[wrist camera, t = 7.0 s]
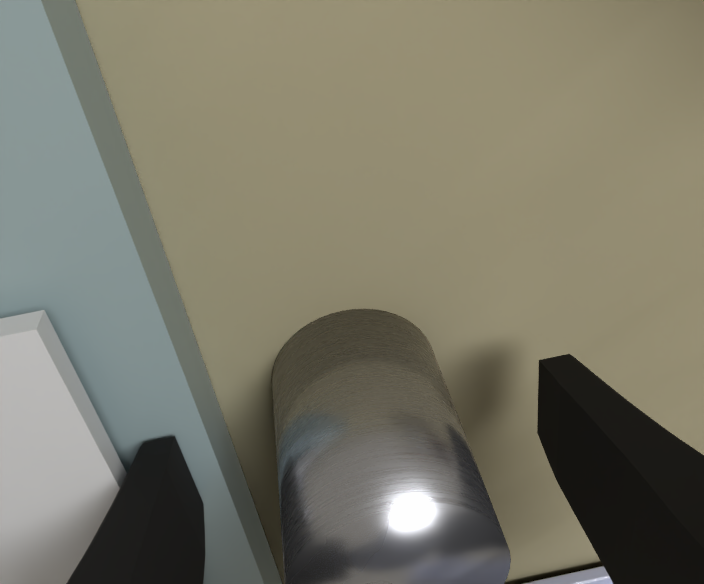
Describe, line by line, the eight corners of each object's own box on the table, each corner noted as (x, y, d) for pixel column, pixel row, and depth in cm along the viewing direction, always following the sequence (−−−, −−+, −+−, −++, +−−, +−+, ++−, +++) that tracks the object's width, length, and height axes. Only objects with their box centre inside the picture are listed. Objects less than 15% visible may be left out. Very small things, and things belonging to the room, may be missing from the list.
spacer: (440, 417, 16) (511, 619, 12) (289, 448, 16) (307, 664, 12) (428, 293, 14) (509, 485, 10) (255, 328, 14) (263, 538, 10)
